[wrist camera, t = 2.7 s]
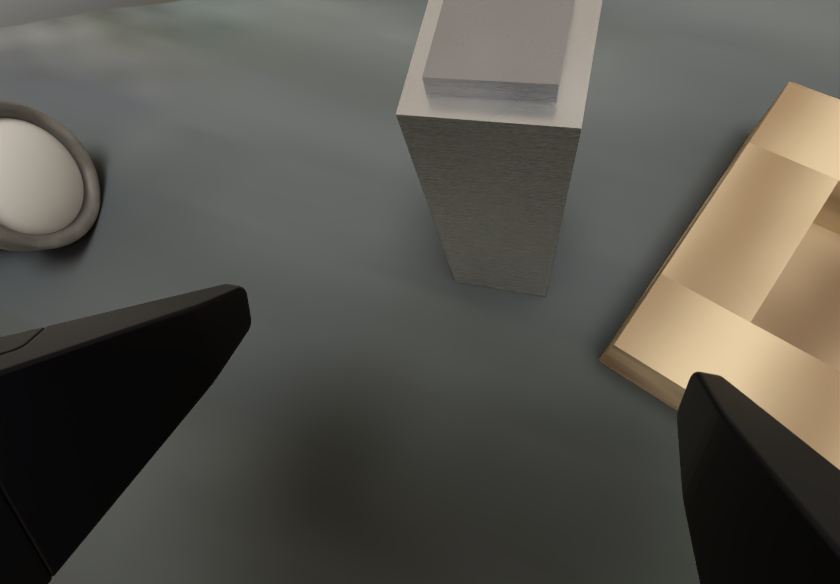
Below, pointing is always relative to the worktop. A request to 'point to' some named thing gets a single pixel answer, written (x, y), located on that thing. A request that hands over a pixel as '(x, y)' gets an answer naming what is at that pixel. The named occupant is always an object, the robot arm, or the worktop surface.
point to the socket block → (755, 280)
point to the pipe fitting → (43, 182)
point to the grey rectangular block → (498, 130)
